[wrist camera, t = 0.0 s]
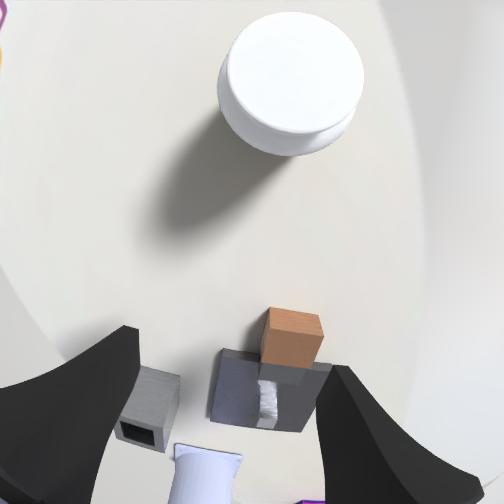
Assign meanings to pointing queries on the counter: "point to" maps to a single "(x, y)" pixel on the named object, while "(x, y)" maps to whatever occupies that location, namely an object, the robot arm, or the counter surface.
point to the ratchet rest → (273, 376)
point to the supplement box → (311, 502)
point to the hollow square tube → (150, 410)
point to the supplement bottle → (290, 84)
